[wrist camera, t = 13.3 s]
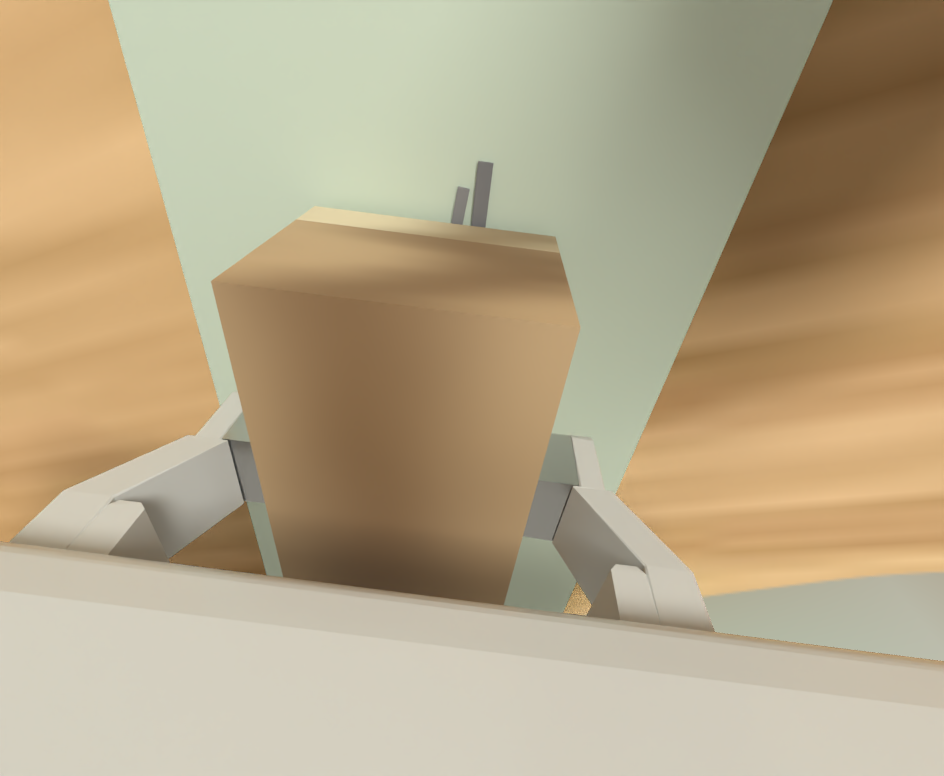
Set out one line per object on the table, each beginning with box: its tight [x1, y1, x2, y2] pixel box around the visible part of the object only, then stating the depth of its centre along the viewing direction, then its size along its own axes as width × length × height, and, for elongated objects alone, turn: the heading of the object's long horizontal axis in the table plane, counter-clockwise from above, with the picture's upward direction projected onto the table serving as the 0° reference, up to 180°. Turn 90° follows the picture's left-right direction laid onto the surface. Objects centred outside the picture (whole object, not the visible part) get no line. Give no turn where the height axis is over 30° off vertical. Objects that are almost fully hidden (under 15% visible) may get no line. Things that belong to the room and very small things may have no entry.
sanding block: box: [211, 206, 581, 605], centre depth 10 cm, size 5×9×4 cm, turn 174°
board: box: [108, 0, 833, 613], centre depth 13 cm, size 12×24×1 cm, turn 174°
